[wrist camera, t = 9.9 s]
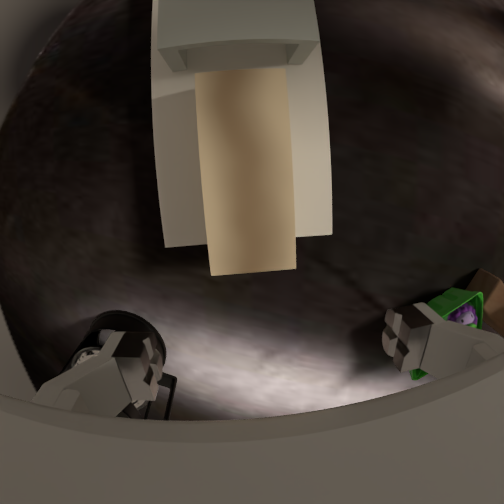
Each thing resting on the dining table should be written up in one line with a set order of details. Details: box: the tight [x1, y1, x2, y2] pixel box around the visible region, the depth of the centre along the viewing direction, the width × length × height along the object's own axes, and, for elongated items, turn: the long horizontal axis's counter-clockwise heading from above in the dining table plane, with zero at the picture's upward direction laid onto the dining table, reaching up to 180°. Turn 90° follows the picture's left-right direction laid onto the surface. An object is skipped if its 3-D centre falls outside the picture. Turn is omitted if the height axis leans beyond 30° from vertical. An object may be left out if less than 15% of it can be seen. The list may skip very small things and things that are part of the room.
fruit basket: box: [409, 288, 483, 380], centre depth 27 cm, size 11×9×11 cm
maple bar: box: [195, 68, 296, 276], centre depth 21 cm, size 6×14×4 cm, turn 4°
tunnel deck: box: [151, 0, 332, 248], centre depth 19 cm, size 14×32×8 cm, turn 4°
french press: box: [58, 310, 177, 421], centre depth 19 cm, size 12×9×23 cm
